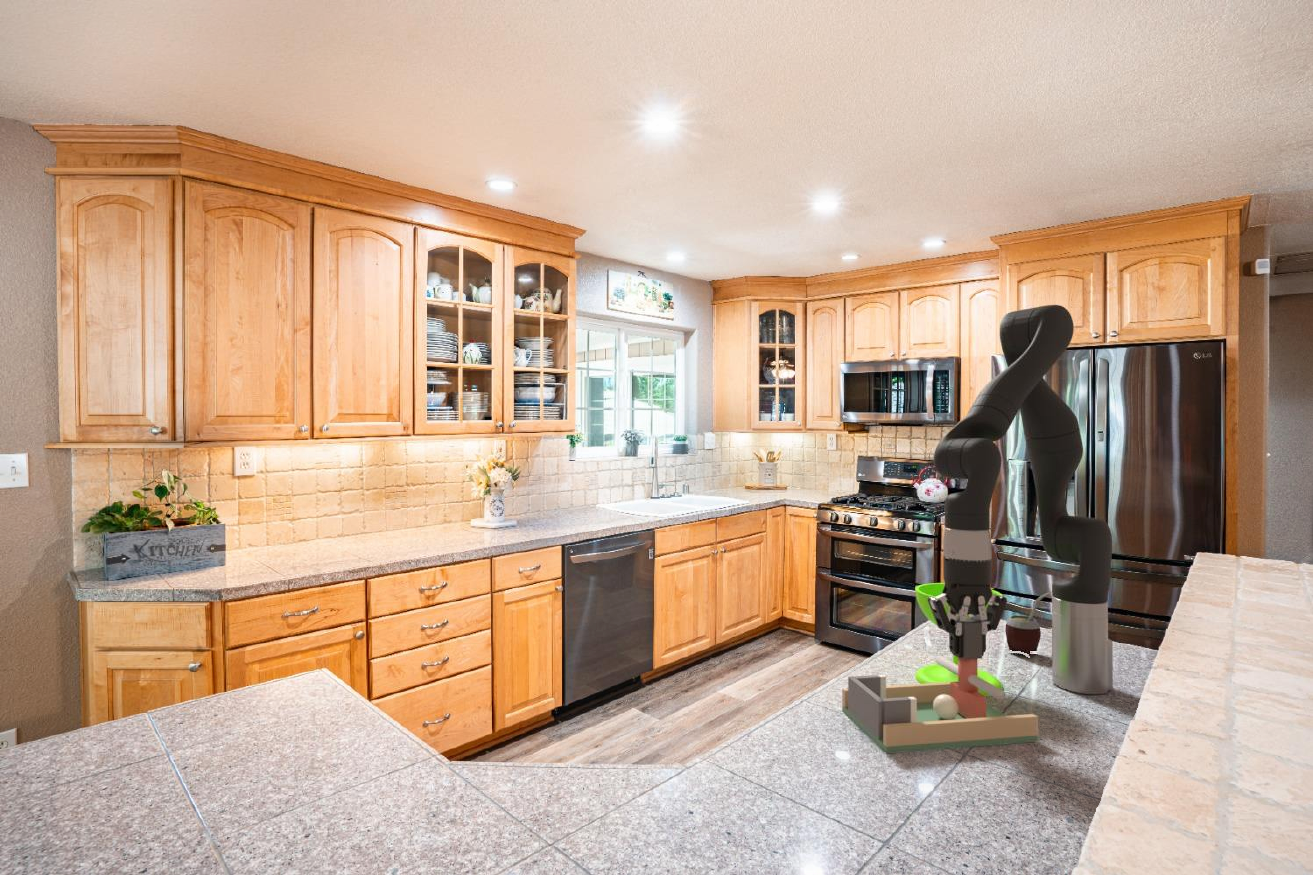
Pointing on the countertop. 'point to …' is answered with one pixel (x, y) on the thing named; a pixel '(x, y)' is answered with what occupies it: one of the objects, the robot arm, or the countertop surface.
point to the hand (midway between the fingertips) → (967, 654)
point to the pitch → (925, 718)
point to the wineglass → (941, 674)
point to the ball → (945, 707)
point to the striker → (970, 674)
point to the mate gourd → (1024, 631)
